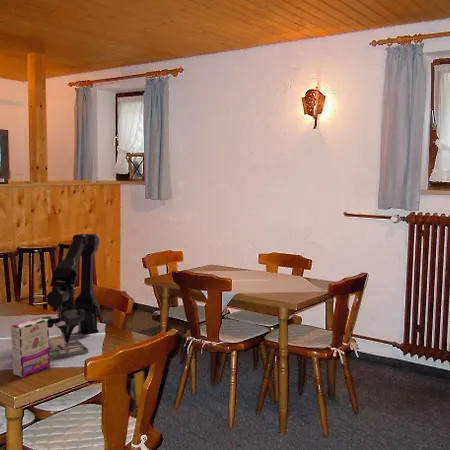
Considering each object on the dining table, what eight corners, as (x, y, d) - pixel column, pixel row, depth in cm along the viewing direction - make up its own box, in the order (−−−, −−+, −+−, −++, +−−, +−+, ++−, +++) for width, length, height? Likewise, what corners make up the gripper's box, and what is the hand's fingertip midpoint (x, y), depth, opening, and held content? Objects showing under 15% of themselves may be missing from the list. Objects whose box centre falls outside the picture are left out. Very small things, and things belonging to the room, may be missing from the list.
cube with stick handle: (61, 345, 197) (60, 335, 197) (67, 351, 191) (67, 340, 190) (50, 347, 195) (49, 336, 195) (56, 353, 189) (55, 342, 188)
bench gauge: (76, 342, 205) (76, 329, 204) (88, 352, 194) (88, 338, 194) (24, 351, 195) (24, 337, 194) (33, 362, 184) (33, 347, 183)
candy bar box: (40, 364, 182) (39, 316, 181) (50, 367, 180) (49, 319, 178) (11, 374, 173) (10, 324, 171) (21, 378, 170) (20, 327, 168)
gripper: (45, 308, 183) (47, 353, 184) (99, 301, 193) (99, 344, 195) (37, 301, 192) (38, 344, 194) (88, 295, 202) (89, 336, 204)
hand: (67, 342), depth 196 cm, fingers closed
